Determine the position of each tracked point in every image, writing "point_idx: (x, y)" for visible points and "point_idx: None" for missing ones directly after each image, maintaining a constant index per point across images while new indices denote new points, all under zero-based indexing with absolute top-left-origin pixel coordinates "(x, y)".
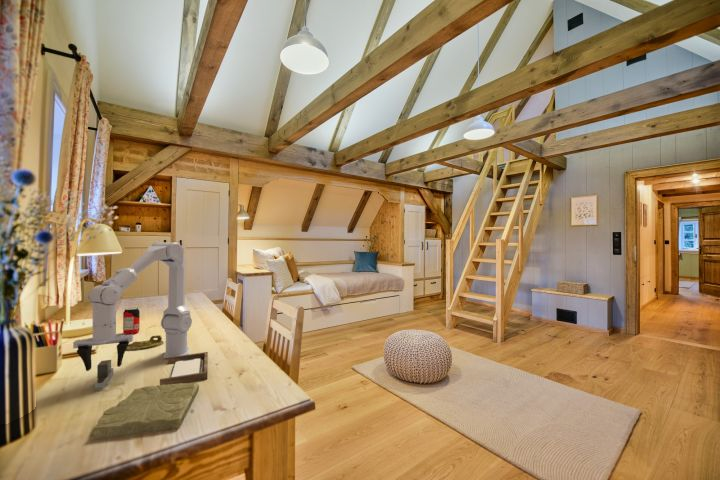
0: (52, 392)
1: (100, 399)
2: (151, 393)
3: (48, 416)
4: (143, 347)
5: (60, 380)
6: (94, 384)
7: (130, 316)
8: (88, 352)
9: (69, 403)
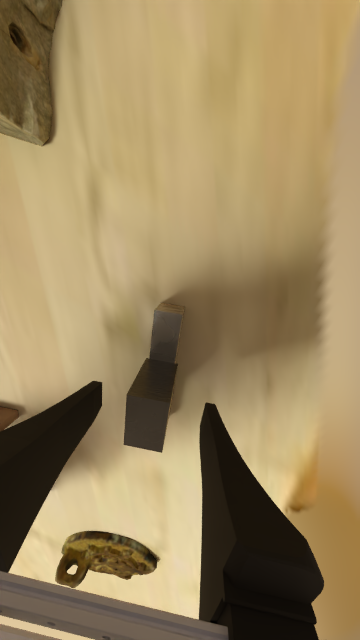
0: (297, 376)
1: (156, 212)
2: None
3: (315, 136)
4: (102, 541)
5: (276, 452)
6: (181, 313)
7: None
8: (216, 522)
9: (250, 239)
